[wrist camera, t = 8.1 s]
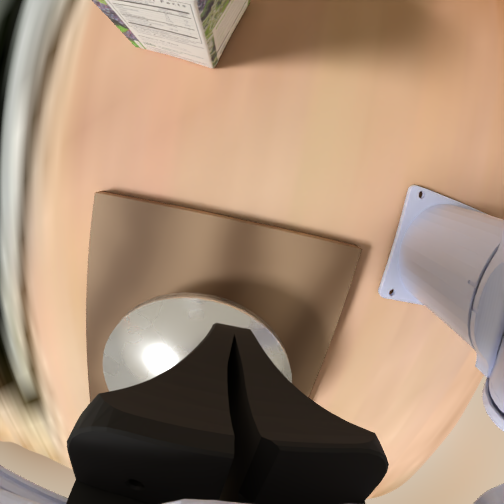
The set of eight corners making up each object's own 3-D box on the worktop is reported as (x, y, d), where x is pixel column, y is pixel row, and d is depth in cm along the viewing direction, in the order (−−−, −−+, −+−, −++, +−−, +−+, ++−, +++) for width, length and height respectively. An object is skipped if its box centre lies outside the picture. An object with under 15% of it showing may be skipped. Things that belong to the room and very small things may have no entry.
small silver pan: (151, 248, 19) (132, 266, 15) (320, 332, 21) (334, 362, 17) (88, 414, 22) (73, 442, 19) (214, 467, 24) (211, 497, 21)
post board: (356, 245, 21) (388, 270, 16) (278, 452, 26) (283, 496, 21) (101, 191, 19) (61, 200, 14) (96, 416, 24) (77, 455, 19)
